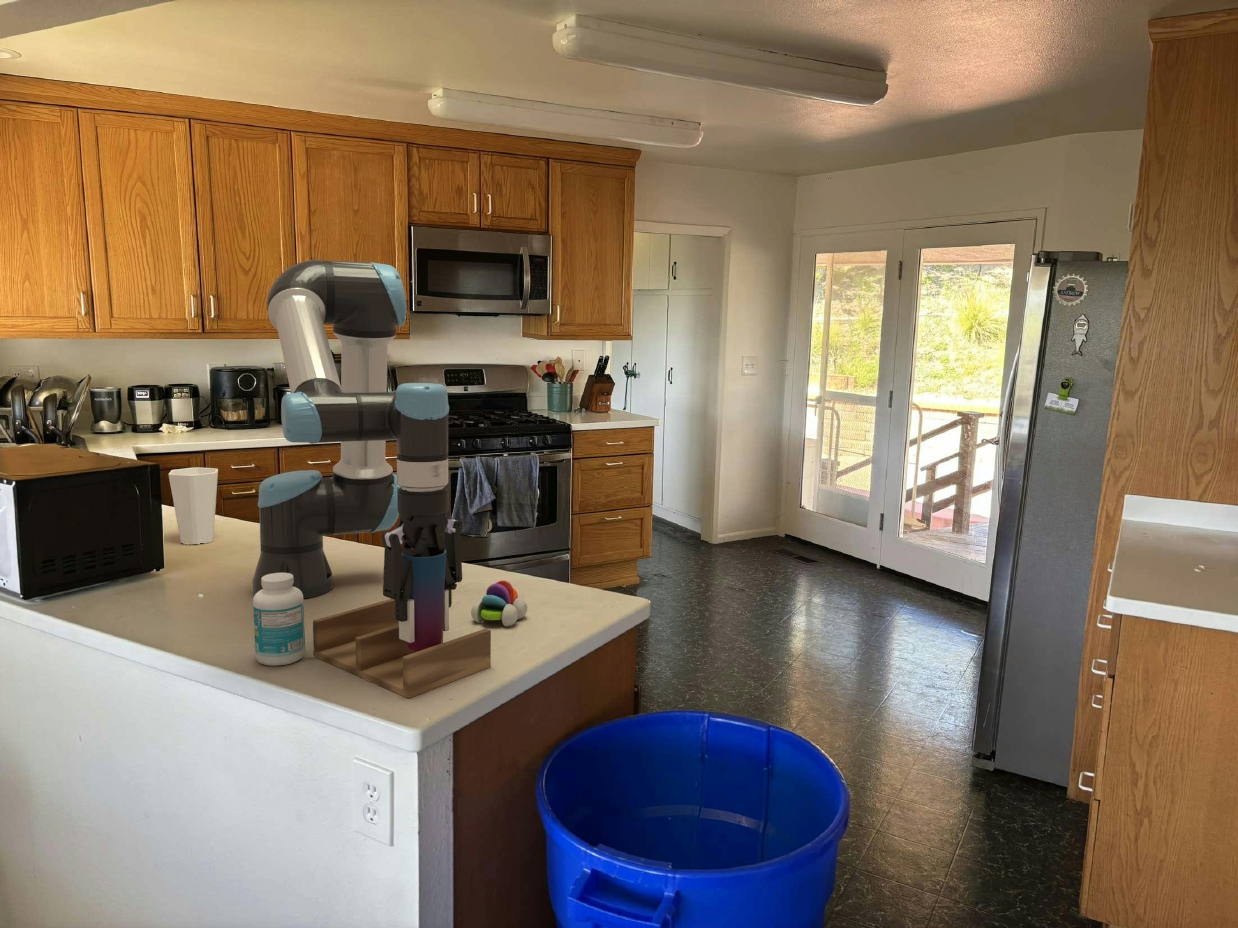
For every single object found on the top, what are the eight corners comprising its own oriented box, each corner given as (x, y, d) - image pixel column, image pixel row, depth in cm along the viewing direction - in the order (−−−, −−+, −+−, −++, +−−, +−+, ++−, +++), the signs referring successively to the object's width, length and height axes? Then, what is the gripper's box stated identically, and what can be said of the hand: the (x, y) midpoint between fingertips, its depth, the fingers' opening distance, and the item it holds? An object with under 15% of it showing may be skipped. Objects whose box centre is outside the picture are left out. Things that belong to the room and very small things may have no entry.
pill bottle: (264, 649, 141) (260, 569, 139) (310, 649, 142) (308, 569, 140) (248, 667, 134) (245, 583, 132) (297, 667, 134) (295, 583, 132)
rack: (313, 656, 139) (312, 620, 138) (395, 630, 151) (395, 597, 150) (408, 698, 124) (408, 658, 123) (490, 666, 137) (490, 630, 136)
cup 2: (453, 640, 136) (453, 547, 134) (436, 655, 130) (435, 558, 127) (413, 636, 138) (412, 544, 135) (394, 651, 131) (392, 555, 129)
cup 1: (161, 544, 203) (157, 473, 201) (189, 534, 213) (186, 466, 210) (205, 548, 202) (201, 476, 199) (231, 537, 211) (228, 469, 209)
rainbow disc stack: (531, 615, 162) (532, 578, 160) (508, 632, 152) (508, 592, 151) (491, 609, 164) (491, 572, 163) (465, 625, 155) (465, 586, 154)
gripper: (385, 498, 120) (388, 657, 124) (487, 482, 135) (486, 624, 138) (353, 491, 125) (357, 644, 128) (454, 476, 139) (455, 614, 143)
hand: (424, 634), depth 133 cm, fingers closed on cup 2, 6 cm apart
